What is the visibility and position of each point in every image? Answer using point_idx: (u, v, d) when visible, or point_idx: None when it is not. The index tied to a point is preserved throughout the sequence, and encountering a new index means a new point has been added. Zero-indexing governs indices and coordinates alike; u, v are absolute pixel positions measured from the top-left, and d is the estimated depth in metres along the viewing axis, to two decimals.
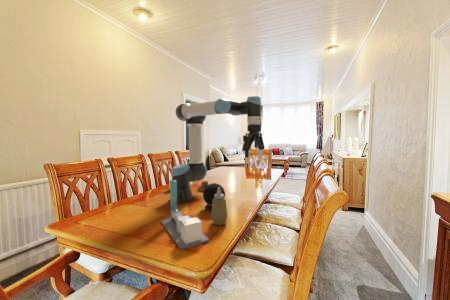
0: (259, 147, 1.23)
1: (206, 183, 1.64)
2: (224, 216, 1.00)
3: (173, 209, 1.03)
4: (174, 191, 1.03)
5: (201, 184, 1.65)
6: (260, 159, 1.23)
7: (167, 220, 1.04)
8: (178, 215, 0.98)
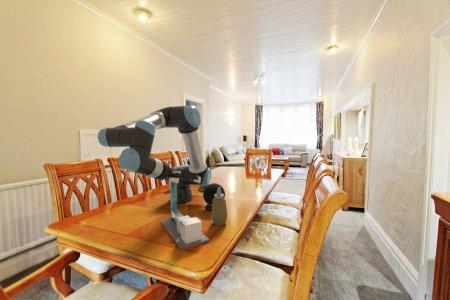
0: None
1: None
2: (224, 216, 1.00)
3: (173, 209, 1.03)
4: (174, 191, 1.03)
5: None
6: None
7: (167, 220, 1.04)
8: (178, 215, 0.98)
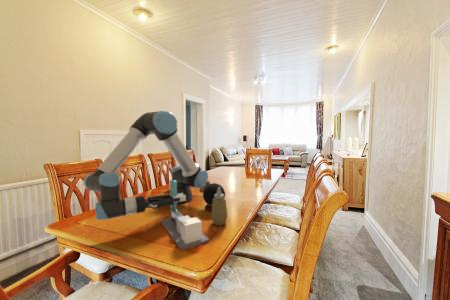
0: None
1: (208, 183, 1.64)
2: (224, 216, 1.00)
3: (173, 209, 1.03)
4: (174, 191, 1.03)
5: None
6: None
7: (167, 220, 1.04)
8: (178, 215, 0.98)
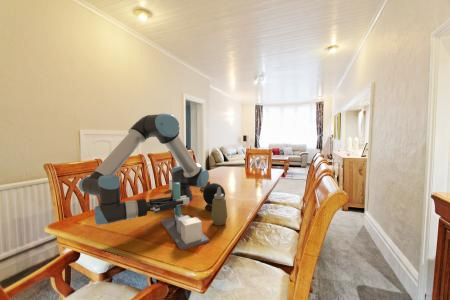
0: None
1: (208, 183, 1.64)
2: (224, 216, 1.00)
3: (176, 212, 0.99)
4: (177, 194, 0.98)
5: None
6: None
7: (167, 220, 1.04)
8: None
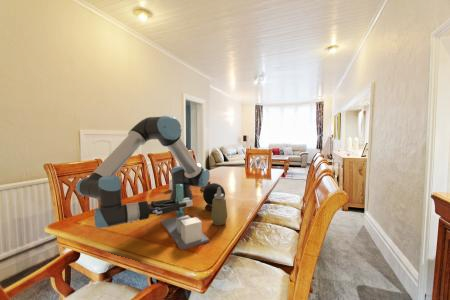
0: None
1: (209, 183, 1.64)
2: (224, 216, 1.00)
3: (179, 215, 0.95)
4: (180, 196, 0.95)
5: None
6: None
7: (167, 220, 1.04)
8: None
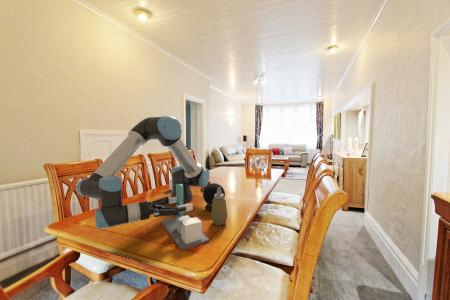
0: None
1: (209, 183, 1.64)
2: (224, 216, 1.00)
3: (179, 215, 0.95)
4: (180, 196, 0.95)
5: None
6: None
7: (167, 220, 1.04)
8: None
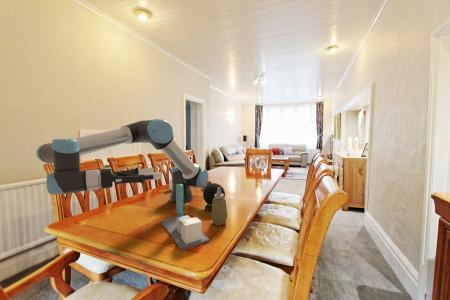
0: None
1: (210, 183, 1.64)
2: (224, 216, 1.00)
3: (179, 215, 0.95)
4: (180, 196, 0.95)
5: None
6: None
7: (167, 220, 1.04)
8: None
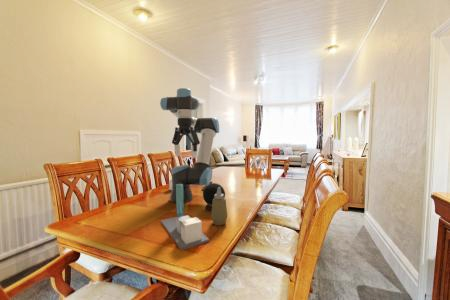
0: None
1: (210, 183, 1.64)
2: (224, 216, 1.00)
3: (179, 215, 0.95)
4: (180, 196, 0.95)
5: None
6: None
7: (167, 220, 1.04)
8: None
